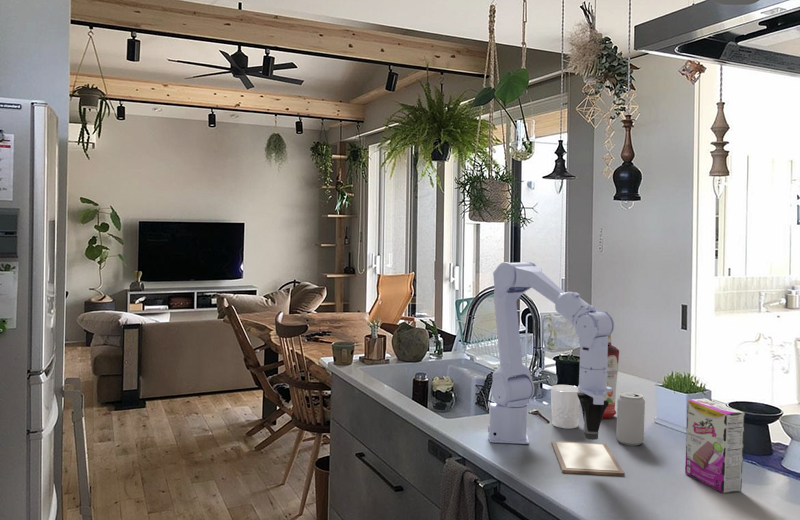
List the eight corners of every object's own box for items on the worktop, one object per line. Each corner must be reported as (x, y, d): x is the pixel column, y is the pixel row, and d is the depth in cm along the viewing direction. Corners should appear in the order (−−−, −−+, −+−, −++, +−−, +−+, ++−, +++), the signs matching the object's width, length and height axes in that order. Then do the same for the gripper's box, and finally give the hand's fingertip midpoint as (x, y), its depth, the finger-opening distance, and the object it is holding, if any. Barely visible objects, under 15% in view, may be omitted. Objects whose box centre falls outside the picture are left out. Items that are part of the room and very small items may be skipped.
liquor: (598, 420, 178) (601, 319, 177) (584, 413, 186) (587, 315, 184) (622, 419, 180) (625, 318, 179) (607, 412, 187) (611, 315, 186)
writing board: (562, 472, 140) (562, 469, 140) (551, 443, 159) (551, 440, 159) (624, 475, 139) (624, 472, 139) (606, 446, 158) (606, 443, 157)
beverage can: (645, 447, 157) (647, 398, 156) (617, 445, 158) (619, 396, 158) (641, 439, 163) (642, 392, 163) (614, 437, 165) (616, 390, 164)
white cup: (578, 421, 177) (579, 385, 177) (581, 430, 170) (582, 392, 169) (549, 419, 179) (550, 383, 178) (550, 428, 171) (551, 390, 171)
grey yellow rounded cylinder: (585, 439, 141) (586, 407, 140) (582, 435, 144) (583, 403, 143) (599, 440, 140) (600, 408, 140) (596, 435, 143) (597, 404, 143)
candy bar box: (683, 474, 140) (686, 398, 140) (702, 471, 142) (705, 397, 141) (722, 494, 130) (725, 413, 129) (742, 492, 131) (746, 411, 130)
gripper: (619, 375, 134) (617, 440, 134) (605, 361, 148) (603, 419, 149) (584, 373, 134) (582, 438, 135) (573, 359, 149) (572, 418, 149)
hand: (591, 428), depth 142 cm, fingers closed on grey yellow rounded cylinder, 3 cm apart
